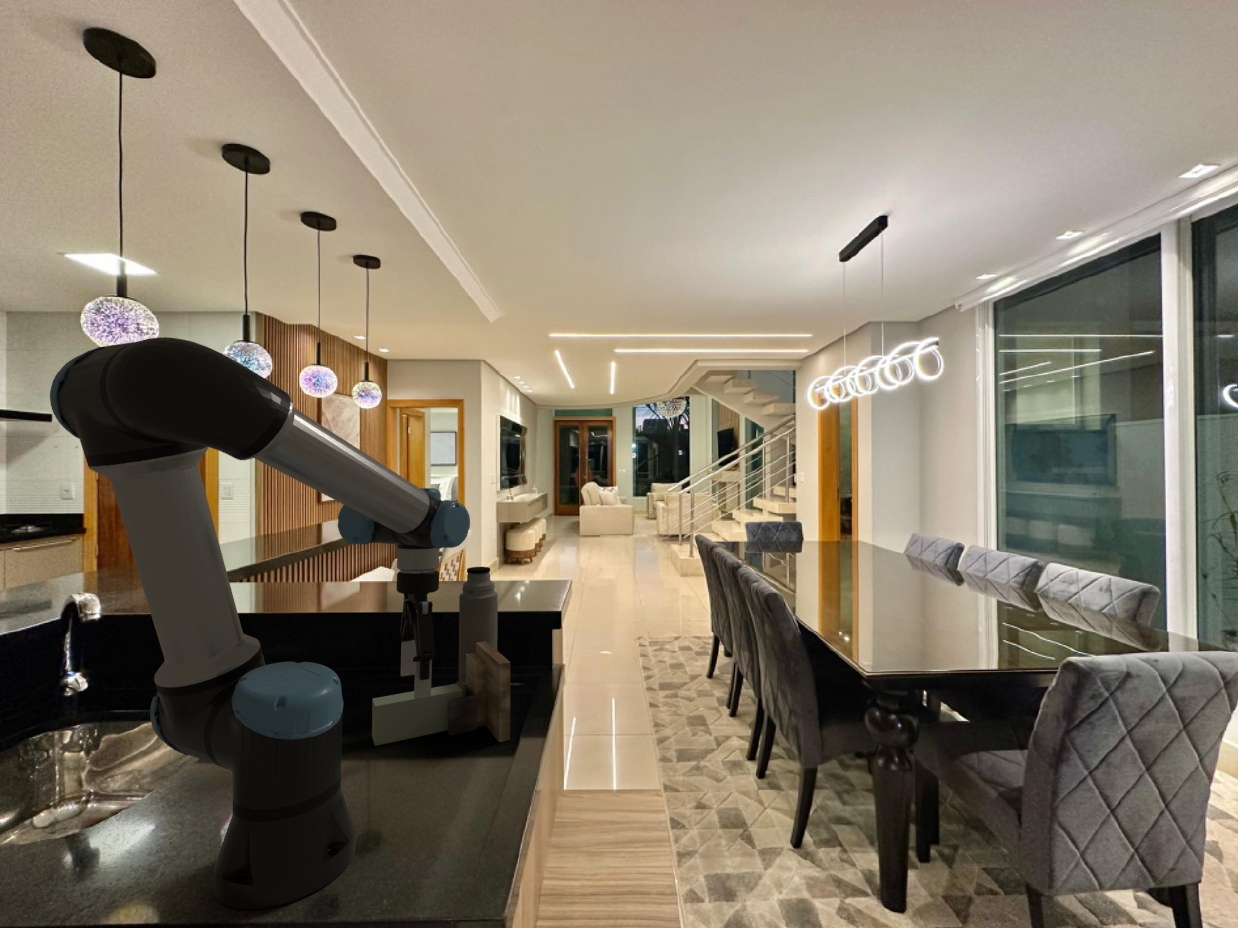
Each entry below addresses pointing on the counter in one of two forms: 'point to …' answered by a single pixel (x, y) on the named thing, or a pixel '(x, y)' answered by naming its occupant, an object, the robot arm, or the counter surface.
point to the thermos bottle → (476, 614)
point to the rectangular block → (412, 714)
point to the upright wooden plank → (483, 695)
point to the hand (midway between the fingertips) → (414, 685)
